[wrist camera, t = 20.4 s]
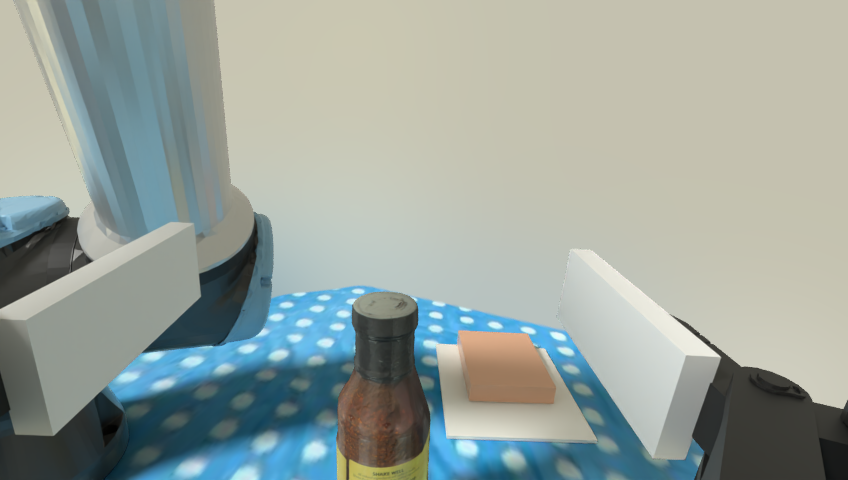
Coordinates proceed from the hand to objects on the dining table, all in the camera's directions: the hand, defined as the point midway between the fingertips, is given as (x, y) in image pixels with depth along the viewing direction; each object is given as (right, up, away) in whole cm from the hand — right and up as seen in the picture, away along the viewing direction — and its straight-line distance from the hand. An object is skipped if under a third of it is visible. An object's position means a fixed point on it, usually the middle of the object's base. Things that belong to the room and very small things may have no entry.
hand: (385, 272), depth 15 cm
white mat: (+11, -17, +38) cm, 43 cm away
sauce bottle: (-2, -22, +16) cm, 27 cm away
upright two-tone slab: (+12, -17, +34) cm, 40 cm away
